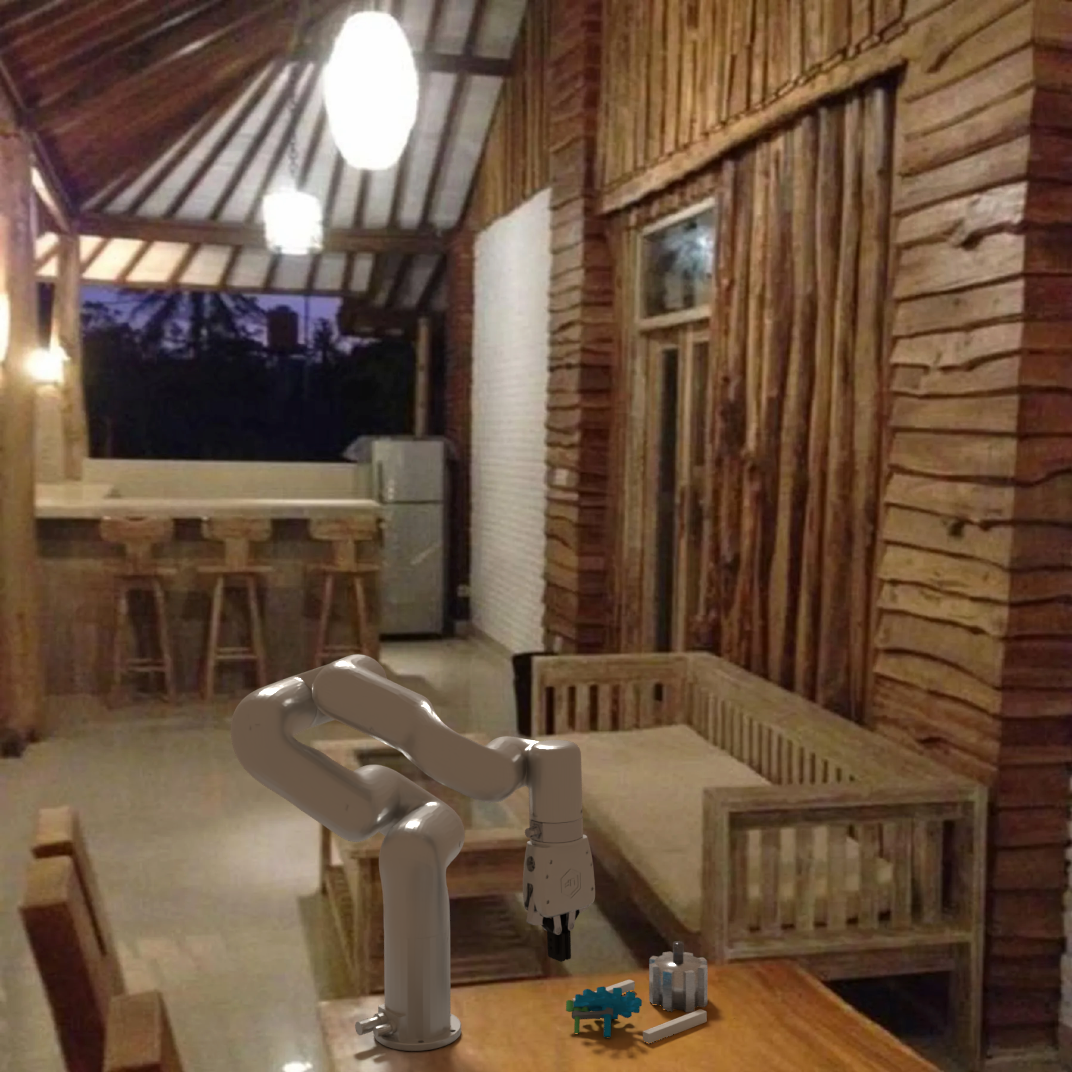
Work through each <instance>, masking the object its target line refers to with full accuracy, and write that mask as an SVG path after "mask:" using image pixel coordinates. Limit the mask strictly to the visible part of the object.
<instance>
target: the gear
mask: <svg viewBox="0 0 1072 1072" xmlns="http://www.w3.org/2000/svg"><path fill="white" fill-rule="evenodd" d="M596 991H597V992H594V990H592V989H590V988H585V989H583V991H582V994H577V993H576V994H575V997H574V998H575V1001H574V1005H573V1001H572V999H568V1000H566V1002H565V1011H566V1012H569V1013H570V1012H571V1019H573V1020H574V1029H573V1031H574V1032H573V1034H574V1033H579V1034H580V1026H581V1025H580V1024H581V1020H601V1019H600V1018H602V1019H603V1038H604V1037H611V1036H612V1034H611V1033H612V1027H611V1026H612V1020H611V1019H617V1020H619V1016H621V1017H623V1018H624V1019H625V1018H626V1019H629V1018H631V1017H633V1016H632V1015H633V1013H634V1014H640V1010H641V1008H640V1007H642V1005H643V1004H642V1003H643V1001H642V999H641V998H640V997H637V996H636V992H635V991H633V992H630V991H628V992H626V994H625V995H622V988H613V993H610V992H608V991H607V990H606V986H605V985H604V986H599V987H596ZM621 995H622V996H621Z"/></svg>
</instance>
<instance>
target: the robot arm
mask: <svg viewBox="0 0 1072 1072" xmlns="http://www.w3.org/2000/svg"><path fill="white" fill-rule="evenodd" d="M332 721H337V722H339V723H341V724H343V725H345V726H346V727H347V726H348V728H351V729H354V730H355V731H357V732H360V733H362V734H365V735H366V736H368V737H371V738H373V739H374V740H377V741H379V742H380V743H382V744H385V745H387V746H389V747H391V748H393V749H395V750H397V751H398V752H400V753H402V755H404V756H405V758H406V759H407V760H408V761H409V762H411V763H412V764H413V765H414V766H416V767H417V768H418V769H419V770H421V772H422V773H424V774H425V775H427V776H428V777H429V778H431V779H432V780H434V781H435V782H437V783H439V784H441V785H443V786H445V787H447V788H449V789H451V790H453V791H455V792H458V793H459V794H461V795H464V796H465V797H468V798H469V799H470V798H471V799H473V800H476V801H479V802H483V803H487V804H491V803H492V804H495V803H500V802H503V801H505V800H507V799H508V798H509V797H511V796H512V795H513V794H514V792H516V791H517V790H519V789H521V788H523V787H526V788H527V789H528V819H529V820H528V821H529V826H528V827H527V828H525V830H524V833H525V837H526V838H527V839H529V841H528V840H527V842H526V848H525V853H524V861H523V875H522V899H523V900H522V902H523V908H524V910H526V911H527V914H526V923H527V924H529V925H532V926H540V927H542V929H543V930H544V931H546V936H547V938H546V941H547V943H546V944H547V945H546V946H547V956H548V957H549V958H550V959H553V960H556V961H558V962H561V963H563V962H565V961H569V960H571V959H572V947H571V945H572V943H571V941H572V940H571V939H572V938H571V935H572V934H571V931H573V930H574V929H575V924H576V923H575V922H576V920H577V918H578V917H579V915H580V914H582V913H583V912H585V911H586V910H588V909H589V908H590V906H591V905H592V904H593V903H594V901H595V898H596V885H595V884H596V883H595V882H596V881H595V872H594V862H593V857H592V855H593V854H592V851H591V846H590V841H589V838H588V835H586V834H584V825H583V824H584V821H583V819H584V817H583V815H584V814H583V781H582V780H583V779H582V778H583V777H582V774H583V773H582V754H581V753H582V751H581V749H580V746H579V745H578V744H576V742H573V741H570V740H566V739H546V740H541V741H540V740H534V739H528V738H522V737H517V736H509V735H508V736H507V735H505V736H500V737H496V738H494V739H493V740H491V741H489V742H488V743H486V744H484V745H483V744H481V743H478V742H477V741H475V740H472V739H470V738H468V737H466V736H464V735H462V734H460V733H458V732H457V731H455V730H453V729H452V728H451V727H449V726H447V725H446V724H445V723H444V721H443V720H441V718H440V717H439V716H438V715H437V712H436V710H435V708H434V706H433V703H432V702H431V701H430V700H429V698H427V697H426V696H424V695H423V694H421V693H419V692H415V691H414V690H412V689H409V688H408V687H405V686H402V685H401V684H399V683H396V682H394V681H392V680H390V679H388V677H387V674H386V671H385V669H384V667H383V666H382V665H381V663H380V662H378V661H377V660H376V659H375V658H373V657H371V656H368V655H365V654H357V653H356V654H351V655H347V656H345V657H342V658H340V659H336V660H334V661H331V662H330V663H328V664H325V665H322V666H319V667H317V668H316V667H315V668H314V669H309V670H307V671H305V672H301V673H298V674H295V675H292V676H289V677H286V678H284V679H280V680H278V681H276V682H273V683H270V684H267V685H265V686H262V687H260V688H257V689H256V690H254V691H252V692H251V693H248V694H246V696H245V697H243V698H242V699H241V701H240V702H239V703H238V705H237V706H236V707H235V710H234V712H233V714H232V717H231V721H230V722H231V723H230V740H231V745H232V749H233V751H234V754H235V756H236V758H237V760H238V762H239V764H240V765H241V766H242V767H243V769H244V770H245V772H247V773H248V774H249V776H251V777H252V778H253V779H254V780H255V781H257V782H258V783H260V784H261V785H263V786H264V787H265V788H267V789H269V790H270V791H272V792H274V793H275V794H277V796H280V797H281V798H283V799H285V800H286V801H287V802H289V803H290V804H292V805H293V806H294V807H296V808H297V809H299V810H300V811H301V812H303V813H304V814H306V815H307V816H309V817H311V818H312V819H313V820H314V821H316V822H318V823H319V824H321V825H322V826H324V827H325V828H327V829H328V830H329V831H331V832H332V833H333V834H335V835H337V837H340V838H341V839H343V840H345V841H348V842H352V843H359V842H363V841H366V840H368V839H371V838H372V837H374V836H375V835H377V833H380V834H382V836H385V837H384V838H383V840H382V843H381V845H380V847H379V849H380V850H379V854H378V868H379V869H378V871H379V877H380V882H381V890H382V900H383V901H382V903H383V906H382V907H383V932H384V933H383V939H384V941H383V945H384V946H383V947H384V949H383V954H384V956H383V959H384V960H383V962H384V964H383V966H384V968H383V969H384V972H383V974H384V977H383V978H384V1003H383V1004H378V1006H377V1008H378V1009H377V1012H376V1013H374V1014H373V1017H369V1018H365V1019H361V1020H358V1021H356V1022H355V1025H354V1028H355V1032H356V1034H357V1035H358V1036H363V1035H365V1034H366V1035H367V1034H369V1033H373V1036H374V1038H375V1040H376V1041H377V1042H379V1044H381V1045H383V1046H385V1047H387V1048H390V1049H394V1050H398V1051H405V1052H408V1051H409V1052H421V1051H422V1052H424V1051H428V1050H435V1049H438V1048H439V1049H441V1048H442V1047H445V1046H448V1045H450V1044H451V1043H453V1042H455V1041H456V1040H457V1039H458V1038H459V1037H460V1036H461V1033H462V1022H461V1020H460V1019H459V1017H458V1016H456V1015H454V1014H453V1013H451V921H450V920H451V916H450V915H451V912H450V897H449V891H448V890H449V889H448V886H447V885H448V884H447V868H448V866H450V864H451V863H452V862H453V861H454V859H456V858H457V856H458V855H459V853H460V852H462V851H461V850H462V849H463V846H464V843H465V839H466V834H465V833H466V831H465V826H464V823H463V821H462V818H461V817H460V815H459V814H458V813H457V812H456V810H454V808H452V807H451V806H449V804H448V803H446V802H445V801H443V800H442V799H440V798H439V797H437V796H435V795H434V794H432V793H431V792H429V791H428V790H426V789H424V788H423V787H422V786H420V785H419V784H417V783H416V782H414V781H412V780H411V779H409V777H407V776H406V775H403V774H402V773H400V772H398V771H397V770H395V769H392V768H391V767H389V766H384V765H381V764H367V765H364V766H360V767H358V768H356V769H354V770H351V769H349V768H347V767H346V766H343V765H342V764H341V763H338V761H335V760H334V759H333V758H331V757H330V756H328V755H327V754H326V753H324V752H322V751H321V750H318V749H316V748H314V747H312V746H310V745H307V744H304V743H302V742H300V741H299V740H297V739H296V738H295V737H294V736H297V735H299V734H300V733H302V732H305V731H307V730H309V729H312V728H315V727H317V726H320V725H321V726H322V725H323V724H326V723H329V722H332Z"/></svg>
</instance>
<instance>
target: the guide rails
mask: <svg viewBox="0 0 1072 1072" xmlns="http://www.w3.org/2000/svg"><path fill="white" fill-rule="evenodd" d="M635 987H636V985H635V981H634V980H632V979H626V980H624V981H620V982H617V983H615V984H612V985H609V986H605V988H606V990H607V991H608V992H610V993H613V988H622V993H624V992H627V991H630V990H634V989H635ZM593 991H594V990H593ZM594 992H597V990H595V991H594ZM571 1000H572V1001H573V1005H574V1001H575V997H573V998H572V999H571ZM707 1013H708V1012H707V1011H706V1010H704V1009H701V1008H700V1009H698V1010H694V1011H692V1012H688V1013H686V1014H684V1015H682V1016H679V1017H677V1018H674V1019H672V1020H669V1021H666V1022H664V1023H662V1024H658V1025H656V1026H654V1027H651V1028H647V1029H646V1030H642V1041H643V1040H644V1041H645V1042H648V1043H651V1042H653V1043H655V1042H654V1041H656V1040H659V1039H661V1040H663V1039H662V1038H664V1037H666V1038H668V1036H669V1037H671V1036H673V1034H674V1035H676V1034H679V1033H681V1032H683V1031H687V1030H689V1029H691V1028H695V1027H697V1026H699V1025H702V1024H704V1023H706V1022H708V1021H707V1018H708V1017H707V1016H708V1015H707ZM664 1039H665V1038H664ZM659 1041H660V1040H659ZM645 1042H644V1043H645ZM656 1042H657V1041H656ZM651 1044H652V1043H651Z"/></svg>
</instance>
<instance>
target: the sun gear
mask: <svg viewBox="0 0 1072 1072" xmlns="http://www.w3.org/2000/svg"><path fill="white" fill-rule="evenodd" d="M684 945H685V944H684V941H682V940H681V941H680V940H675V941H673V942H672V951H665V952H662V954H661V955H659V956H656V955H651V956H650V958H649V959H648V960H649V961H648V963H649V964H648V965H649V966H648V967H649V969H648V971H649V972H648V974H649V976H648V977H649V978H648V987H649V988H648V990H649V991H648V993H649V994H648V995H649V997H648V999H649V1000H648V1002H649V1001H650V1002H651V1003H652V1004H657V1005H656V1006H659V1005H661V1006H663V1007H662V1010H663V1009H665V1010H667V1011H666V1012H669V1011H671V1013H673V1011H674V1009H677V1010H676V1011H684V1012H685V1013H692V1012H695V1009H696V1008H698V1007H700V1008H705V1007H707V1005H708V979H709V978H708V971H709V970H708V968H709V967H708V960H707V959H706V958H705V957H696V956H694V953H693V952H688V951H687V952H686V951H685V950H684V948H685V947H684ZM658 1004H659V1005H658ZM661 1006H660V1007H661Z"/></svg>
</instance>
